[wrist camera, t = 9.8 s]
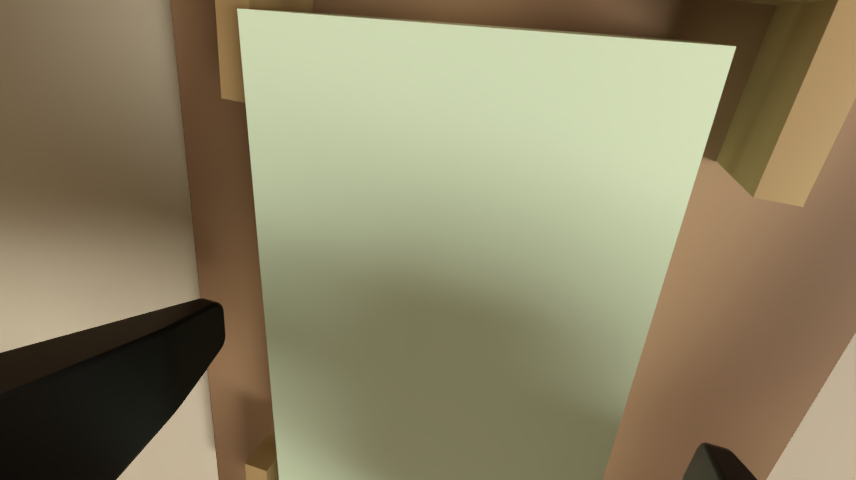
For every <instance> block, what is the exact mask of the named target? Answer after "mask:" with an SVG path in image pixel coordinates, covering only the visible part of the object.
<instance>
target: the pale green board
mask: <svg viewBox="0 0 856 480" xmlns="http://www.w3.org/2000/svg"><path fill="white" fill-rule="evenodd" d="M237 14H238V25H239V36H240V48H241V59H242V70H243V81H244V93H245V104H246V115H247V126H248V138H249V149H250V160H251V171H252V182H253V194H254V205H255V216H256V227H257V239H258V250H259V261H260V272H261V284H262V295H263V306H264V317H265V328H266V340H267V351H268V362H269V373H270V385H271V396H272V407H273V418H274V430H275V441H276V452H277V463H278V474H279V480H603V477H604V473H605V470H606V467H607V464H608V460H609V457H610V454H611V451H612V447H613V444H614V441H615V438H616V434H617V431H618V428H619V425H620V422H621V418H622V415H623V412H624V409H625V405H626V402H627V399H628V396H629V392H630V389H631V386H632V383H633V379H634V376H635V373H636V370H637V367H638V363H639V360H640V357H641V354H642V350H643V347H644V344H645V341H646V337H647V334H648V331H649V328H650V324H651V321H652V318H653V315H654V312H655V308H656V305H657V302H658V299H659V295H660V292H661V289H662V286H663V282H664V279H665V276H666V273H667V269H668V266H669V263H670V260H671V256H672V253H673V250H674V247H675V244H676V240H677V237H678V234H679V231H680V227H681V224H682V221H683V218H684V214H685V211H686V208H687V205H688V201H689V198H690V195H691V192H692V189H693V185H694V182H695V179H696V176H697V172H698V169H699V166H700V163H701V159H702V156H703V153H704V150H705V146H706V143H707V140H708V137H709V134H710V130H711V127H712V124H713V121H714V117H715V114H716V111H717V108H718V104H719V101H720V98H721V95H722V91H723V88H724V85H725V82H726V78H727V75H728V72H729V69H730V66H731V62H732V59H733V56H734V53H735V49H736V46H729V45H721V44H713V43H704V42H696V41H688V40H678V39H664V38H651V37H638V36H624V35H611V34H598V33H584V32H571V31H558V30H544V29H531V28H518V27H504V26H491V25H478V24H464V23H451V22H438V21H424V20H411V19H398V18H384V17H371V16H358V15H344V14H329V13H311V12H293V11H274V10H256V9H238V8H237Z"/></svg>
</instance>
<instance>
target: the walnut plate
mask: <svg viewBox="0 0 856 480" xmlns="http://www.w3.org/2000/svg"><path fill="white" fill-rule="evenodd" d="M237 8H238V9H256V10H274V11H293V12H311V13H329V14H344V15H358V16H371V17H384V18H398V19H411V20H424V21H438V22H451V23H464V24H478V25H491V26H504V27H518V28H531V29H544V30H558V31H571V32H584V33H598V34H611V35H624V36H638V37H651V38H664V39H678V40H688V41H696V42H704V43H713V44H721V45H729V46H736V49H735V53H734V56H733V59H732V62H731V66H730V69H729V72H728V75H727V78H726V82H725V85H724V88H723V91H722V95H721V98H720V101H719V104H718V108H717V111H716V114H715V117H714V121H713V124H712V127H711V130H710V134H709V137H708V140H707V143H706V146H705V150H704V153H703V156H702V159H701V163H700V166H699V169H698V172H697V176H696V179H695V182H694V185H693V189H692V192H691V195H690V198H689V201H688V205H687V208H686V211H685V214H684V218H683V221H682V224H681V227H680V231H679V234H678V237H677V240H676V244H675V247H674V250H673V253H672V256H671V260H670V263H669V266H668V269H667V273H666V276H665V279H664V282H663V286H662V289H661V292H660V295H659V299H658V302H657V305H656V308H655V312H654V315H653V318H652V321H651V324H650V328H649V331H648V334H647V337H646V341H645V344H644V347H643V350H642V354H641V357H640V360H639V363H638V367H637V370H636V373H635V376H634V379H633V383H632V386H631V389H630V392H629V396H628V399H627V402H626V405H625V409H624V412H623V415H622V418H621V422H620V425H619V428H618V431H617V434H616V438H615V441H614V444H613V447H612V451H611V454H610V457H609V460H608V464H607V467H606V470H605V473H604V477H603V480H682V479H683V476H684V474H685V472H686V470H687V468H688V466H689V464H690V462H691V460H692V458H693V455H694V453H695V451H696V449H697V448H698V446H699V445H700V444H701V443H705V442H706V443H710V444H714V445H717V446H721V447H724V448H727V449H729V450H731V451H732V452H733V453H734V454H735V455H736V456H737V457H738V458H739V459H740V460H741V462H742V463H743V464H744V465H745V466H746V467H747V468H748V469H749V470H750V471H751V472H752V474H753V475H754V476H755V477H756V478H757V479H758V480H766V479H767V477H768V476H769V474H770V472H771V471H772V469H773V467H774V466H775V464H776V462H777V461H778V459H779V458H780V456H781V454H782V453H783V451H784V449H785V448H786V446H787V444H788V443H789V441H790V439H791V438H792V436H793V434H794V433H795V431H796V430H797V428H798V426H799V425H800V423H801V421H802V420H803V418H804V416H805V415H806V413H807V411H808V410H809V408H810V406H811V405H812V403H813V402H814V400H815V398H816V397H817V395H818V393H819V392H820V390H821V388H822V387H823V385H824V383H825V382H826V380H827V378H828V377H829V375H830V374H831V372H832V370H833V369H834V367H835V365H836V364H837V362H838V360H839V359H840V357H841V355H842V354H843V352H844V350H845V349H846V347H847V346H848V344H849V342H850V341H851V339H852V337H853V336H854V334H855V332H856V0H171V9H172V19H173V29H174V39H175V49H176V59H177V69H178V79H179V89H180V99H181V109H182V119H183V129H184V139H185V149H186V159H187V169H188V179H189V189H190V199H191V209H192V219H193V229H194V238H195V248H196V258H197V268H198V278H199V288H200V298H204V299H208V300H212V301H215V302H218V303H220V304H221V305H222V307H223V310H224V321H225V335H226V336H225V342H224V345H223V347H222V349H221V350H220V351H219V353H218V354H217V356H216V357H215V358H214V360H213V361H212V363H211V364H210V365H209V367H208V378H209V388H210V398H211V408H212V418H213V428H214V438H215V448H216V458H217V467H218V477H219V480H279V474H278V463H277V452H276V441H275V430H274V418H273V407H272V396H271V385H270V373H269V362H268V351H267V340H266V328H265V317H264V306H263V295H262V284H261V272H260V261H259V250H258V239H257V227H256V216H255V205H254V194H253V182H252V171H251V160H250V149H249V138H248V126H247V115H246V104H245V93H244V81H243V70H242V59H241V48H240V36H239V25H238V14H237Z"/></svg>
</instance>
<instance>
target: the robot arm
mask: <svg viewBox="0 0 856 480" xmlns="http://www.w3.org/2000/svg"><path fill="white" fill-rule="evenodd" d="M225 336H226V335H225V321H224V310H223V307H222V305H221V304H220V303H218V302H215V301H212V300H208V299H204V298H201V299H197V300H193V301H189V302H186V303H182V304H178V305H175V306H171V307H167V308H164V309H160V310H156V311H153V312H149V313H145V314H142V315H138V316H134V317H131V318H127V319H123V320H120V321H116V322H112V323H108V324H105V325H101V326H97V327H94V328H90V329H86V330H83V331H79V332H75V333H72V334H68V335H64V336H61V337H57V338H53V339H50V340H46V341H42V342H39V343H35V344H31V345H28V346H24V347H20V348H17V349H13V350H9V351H6V352H2V353H0V480H116V479H117V478H118V477H119V476H120V475H121V474H122V473H123V471H124V470H125V469H126V468H127V467H128V466H129V465H130V463H131V462H132V461H133V460H134V459H135V458H136V457H137V455H138V454H139V453H140V452H141V451H142V450H143V449H144V447H145V446H146V445H147V444H148V443H149V442H150V441H151V439H152V438H153V437H154V436H155V435H156V434H157V433H158V431H159V430H160V429H161V428H162V427H163V426H164V425H165V424H166V422H167V421H168V420H169V419H170V418H171V416H172V415H173V414H174V413H175V412H176V410H177V409H178V408H179V407H180V405H181V404H182V403H183V401H184V400H185V399H186V397H187V396H188V395H189V393H190V392H191V390H192V389H193V388H194V386H195V385H196V383H197V382H198V381H199V379H200V378H201V376H202V375H203V374H204V372H205V371H206V370H207V368H208V367H209V365H210V364H211V363H212V361H213V360H214V358H215V357H216V356H217V354H218V353H219V351H220V350H221V349H222V347H223V345H224V342H225ZM682 480H758V479H757V478H756V477H755V476H754V475H753V474H752V472H751V471H750V470H749V469H748V468H747V467H746V466H745V465H744V464H743V463H742V462H741V460H740V459H739V458H738V457H737V456H736V455H735V454H734V453H733V452H732V451H731V450H729V449H727V448H724V447H721V446H717V445H714V444H710V443H706V442H705V443H701V444H700V445H699V446H698V448H697V449H696V451H695V453H694V455H693V458H692V460H691V462H690V464H689V466H688V468H687V470H686V472H685V474H684V476H683V479H682Z"/></svg>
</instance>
